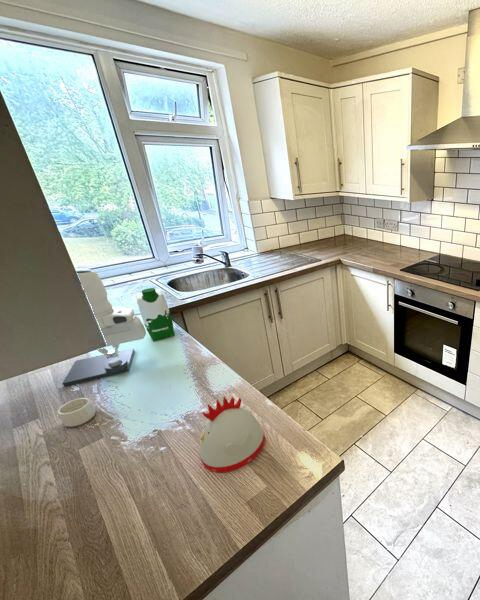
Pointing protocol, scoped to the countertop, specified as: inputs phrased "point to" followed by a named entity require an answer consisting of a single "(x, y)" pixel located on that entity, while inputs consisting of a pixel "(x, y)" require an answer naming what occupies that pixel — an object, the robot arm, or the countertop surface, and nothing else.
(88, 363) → the scale
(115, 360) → the tare button
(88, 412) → the bowl
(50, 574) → the countertop surface
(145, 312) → the milk carton
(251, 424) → the kitchen timer
